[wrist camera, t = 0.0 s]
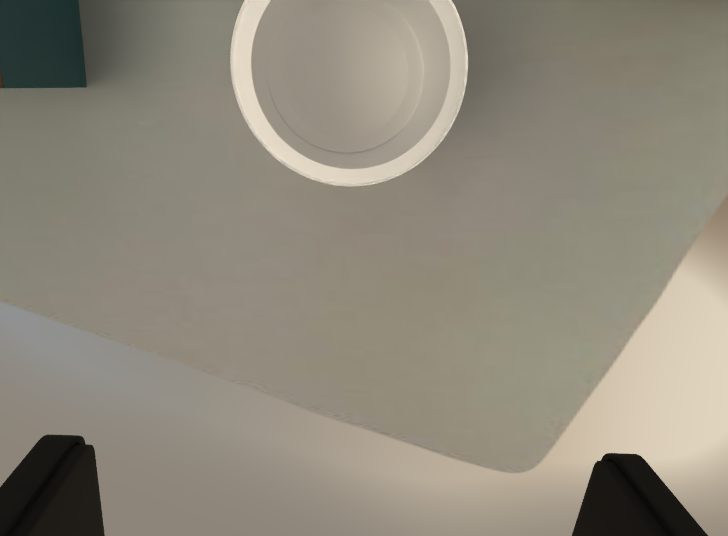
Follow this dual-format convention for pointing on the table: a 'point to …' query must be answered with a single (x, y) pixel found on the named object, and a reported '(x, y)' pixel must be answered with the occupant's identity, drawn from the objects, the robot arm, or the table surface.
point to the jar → (349, 83)
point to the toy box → (41, 44)
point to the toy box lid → (0, 83)
